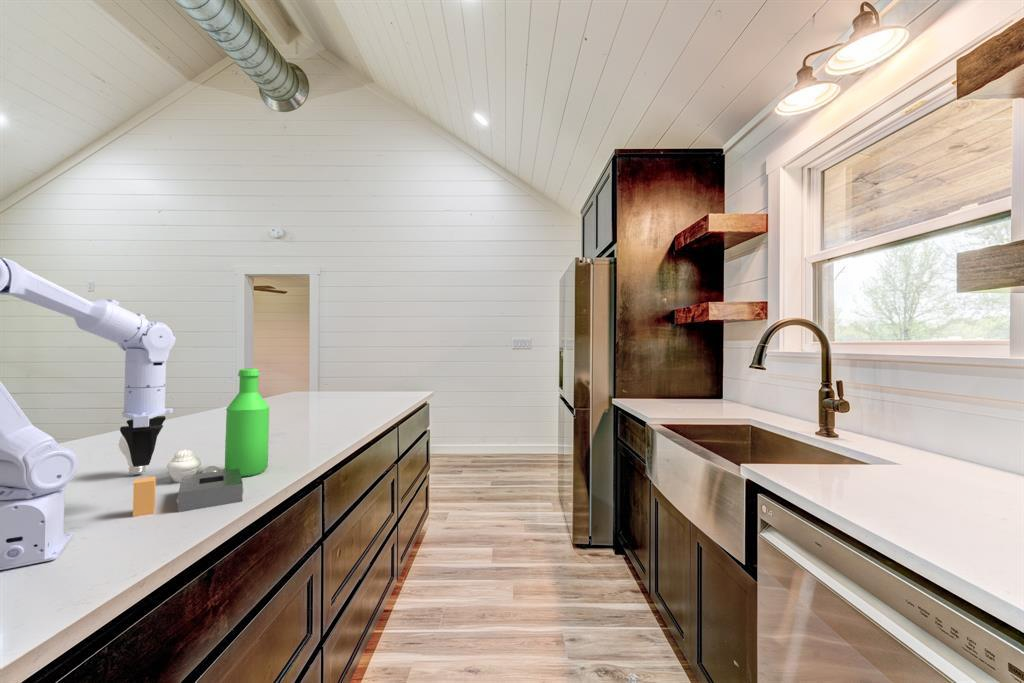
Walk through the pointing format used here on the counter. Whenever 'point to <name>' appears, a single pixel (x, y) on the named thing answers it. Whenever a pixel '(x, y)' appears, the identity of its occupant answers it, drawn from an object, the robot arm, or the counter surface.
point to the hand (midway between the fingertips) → (143, 460)
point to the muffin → (183, 465)
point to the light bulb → (125, 450)
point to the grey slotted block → (210, 489)
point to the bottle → (247, 428)
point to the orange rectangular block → (144, 496)
